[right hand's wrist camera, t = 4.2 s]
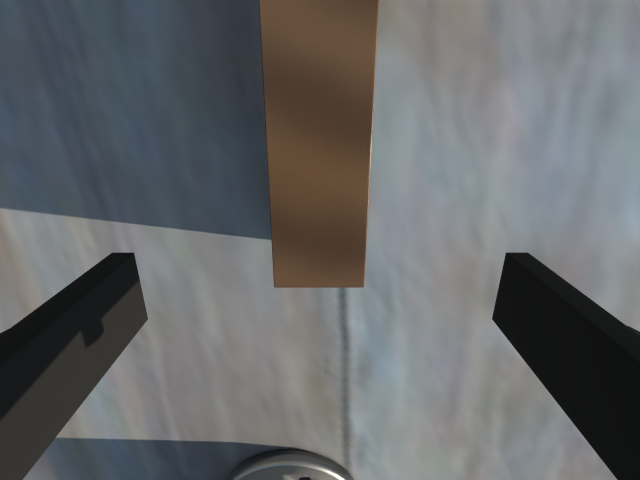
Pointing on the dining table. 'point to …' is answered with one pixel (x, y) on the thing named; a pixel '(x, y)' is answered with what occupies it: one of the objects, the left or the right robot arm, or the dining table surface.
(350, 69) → the beam
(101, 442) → the dining table surface
